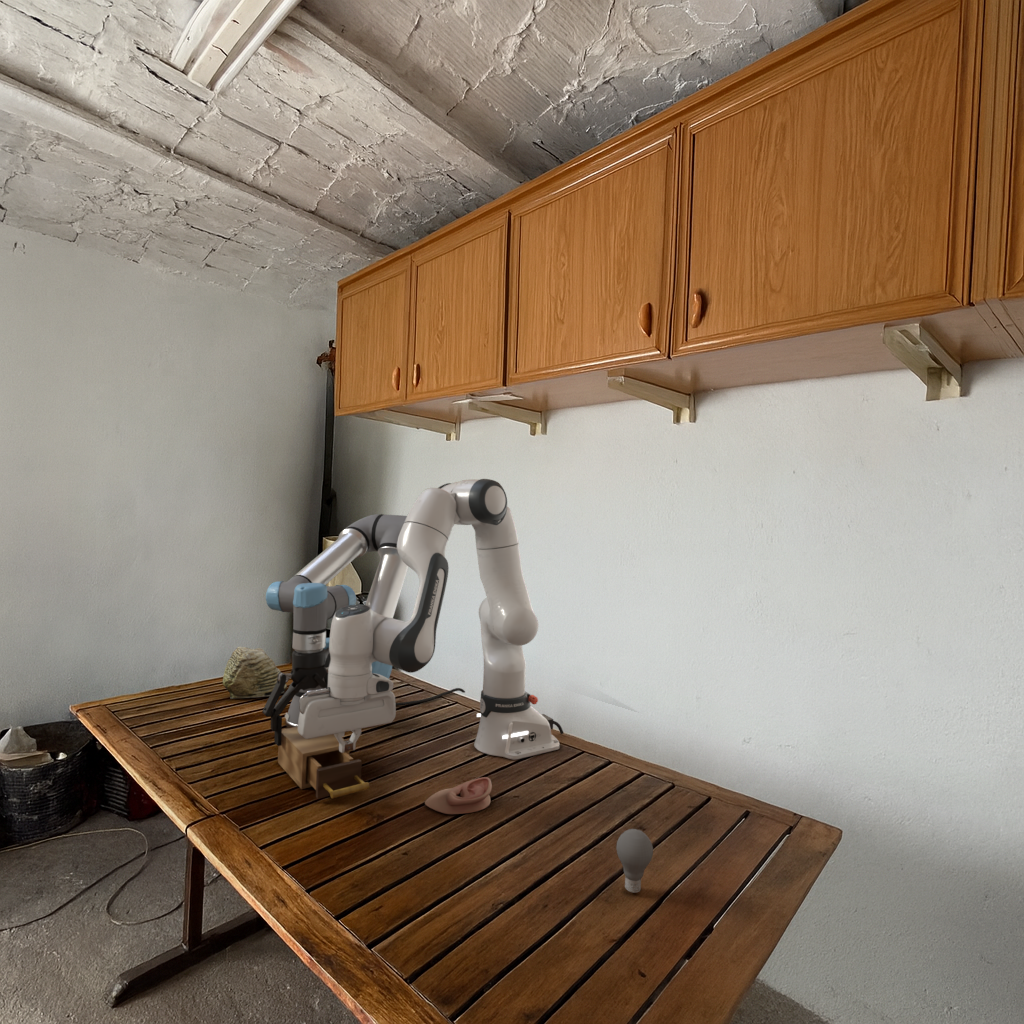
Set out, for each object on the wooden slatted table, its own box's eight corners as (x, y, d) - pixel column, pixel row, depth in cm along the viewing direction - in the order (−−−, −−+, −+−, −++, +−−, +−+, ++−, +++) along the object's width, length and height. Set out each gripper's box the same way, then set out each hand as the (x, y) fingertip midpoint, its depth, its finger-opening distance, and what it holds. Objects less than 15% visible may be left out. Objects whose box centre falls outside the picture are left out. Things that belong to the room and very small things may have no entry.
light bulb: (610, 879, 108) (613, 822, 108) (644, 879, 109) (647, 822, 109) (619, 902, 102) (622, 840, 102) (655, 901, 103) (658, 840, 103)
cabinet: (348, 777, 143) (349, 743, 143) (301, 789, 137) (302, 753, 137) (321, 753, 156) (323, 721, 156) (277, 762, 150) (278, 730, 149)
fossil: (218, 695, 195) (220, 647, 195) (278, 685, 208) (279, 640, 207) (228, 703, 189) (230, 653, 188) (289, 692, 201) (290, 645, 201)
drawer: (372, 798, 132) (373, 770, 132) (328, 810, 126) (329, 781, 126) (333, 763, 148) (334, 738, 148) (293, 772, 143) (294, 746, 143)
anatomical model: (420, 791, 129) (438, 768, 141) (419, 810, 129) (437, 786, 141) (483, 800, 127) (496, 776, 138) (482, 819, 127) (495, 794, 138)
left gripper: (259, 660, 139) (257, 755, 140) (365, 646, 154) (362, 731, 155) (249, 652, 145) (247, 743, 146) (352, 639, 160) (350, 722, 161)
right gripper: (305, 696, 122) (302, 767, 123) (400, 681, 135) (397, 746, 135) (294, 687, 127) (291, 755, 128) (387, 674, 140) (384, 736, 140)
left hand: (306, 737), depth 151 cm, fingers open, 13 cm apart
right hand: (347, 750), depth 131 cm, fingers closed
